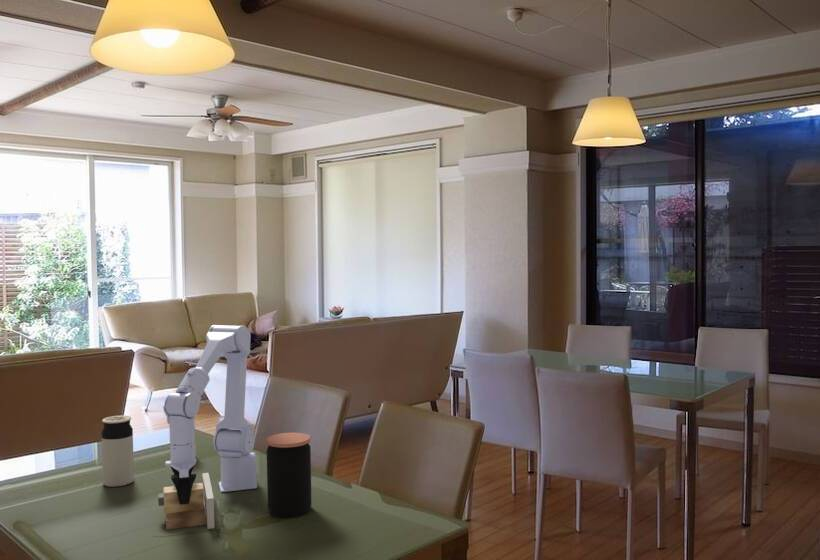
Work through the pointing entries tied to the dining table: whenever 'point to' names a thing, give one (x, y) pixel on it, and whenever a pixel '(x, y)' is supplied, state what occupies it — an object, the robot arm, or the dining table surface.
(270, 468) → the coffee jar
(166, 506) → the tan rectangular block
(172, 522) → the brown rectangular panel
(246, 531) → the dining table surface
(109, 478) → the travel mug
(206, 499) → the shelf board
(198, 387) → the robot arm
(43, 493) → the dining table surface
